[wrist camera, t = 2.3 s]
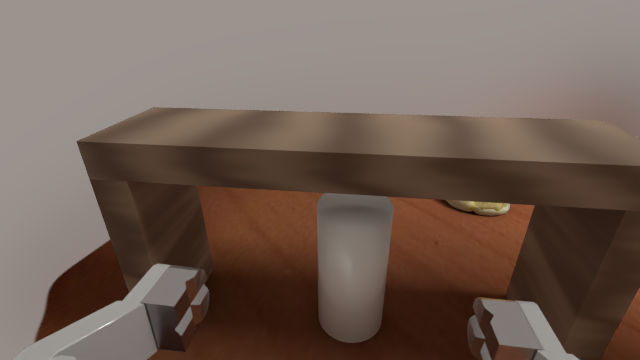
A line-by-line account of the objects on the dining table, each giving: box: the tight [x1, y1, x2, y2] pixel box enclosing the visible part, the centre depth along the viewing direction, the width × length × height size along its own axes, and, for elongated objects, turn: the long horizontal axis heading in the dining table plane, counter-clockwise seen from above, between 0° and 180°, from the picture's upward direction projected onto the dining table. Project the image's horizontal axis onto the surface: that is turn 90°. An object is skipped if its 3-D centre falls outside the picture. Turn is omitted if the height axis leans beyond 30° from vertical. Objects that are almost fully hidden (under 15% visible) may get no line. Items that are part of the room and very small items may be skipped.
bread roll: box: [446, 200, 510, 216], centre depth 46 cm, size 8×9×4 cm
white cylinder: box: [317, 193, 394, 343], centre depth 26 cm, size 5×5×11 cm
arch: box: [77, 107, 640, 360], centre depth 25 cm, size 33×8×16 cm, turn 83°
